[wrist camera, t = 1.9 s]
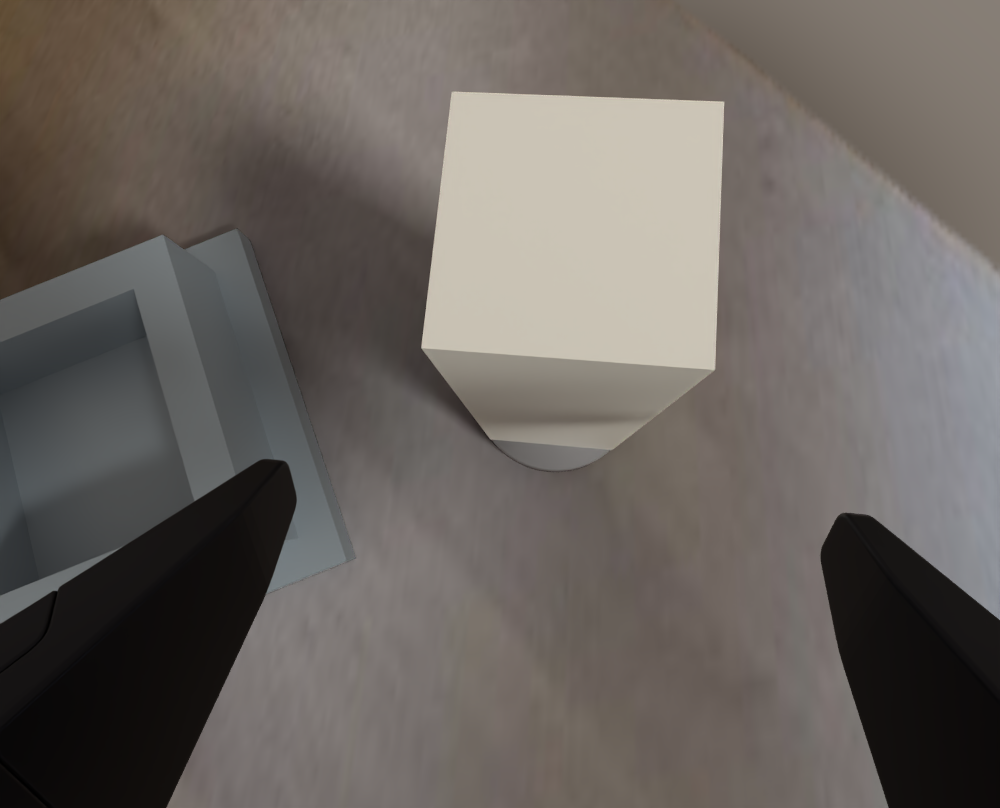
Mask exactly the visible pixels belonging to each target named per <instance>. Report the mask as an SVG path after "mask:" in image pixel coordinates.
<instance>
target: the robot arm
mask: <svg viewBox="0 0 1000 808" xmlns="http://www.w3.org/2000/svg"><path fill="white" fill-rule="evenodd" d="M296 504H297V495H296V491H295V487H294V483H293V479H292V475H291V471H290V468H289V465H288V464H287V462H286V461H283V460H275V459H261V460H259V461H257V462H256V463H254V464H252V465H251V466H249V467H248V468H246V469H245V470H243V471H241V472H240V473H238V474H237V475H235V476H233V477H232V478H230V479H229V480H227V481H226V482H224V483H222V484H221V485H219V486H218V487H216V488H215V489H213V490H211V491H210V492H208V493H207V494H205V495H204V496H202V497H200V498H199V499H197V500H196V501H194V502H192V503H191V504H189V505H188V506H186V507H185V508H183V509H181V510H180V511H178V512H177V513H175V514H174V515H172V516H170V517H169V518H167V519H166V520H164V521H163V522H161V523H159V524H158V525H156V526H155V527H153V528H151V529H150V530H148V531H147V532H145V533H144V534H142V535H140V536H139V537H137V538H136V539H134V540H133V541H131V542H129V543H128V544H126V545H125V546H123V547H121V548H120V549H118V550H117V551H115V552H114V553H112V554H110V555H109V556H107V557H106V558H104V559H103V560H101V561H99V562H98V563H96V564H95V565H93V566H92V567H90V568H88V569H87V570H85V571H84V572H82V573H80V574H79V575H77V576H76V577H74V578H73V579H71V580H69V581H68V582H66V583H65V584H63V585H62V586H60V587H59V588H58V591H52V592H50V593H49V594H47V595H45V596H44V597H42V598H41V599H39V600H38V601H36V602H34V603H33V604H31V605H30V606H28V607H27V608H25V609H23V610H22V611H20V612H18V613H17V614H15V615H13V616H12V617H10V618H9V619H7V620H5V621H4V622H2V623H0V808H166V807H167V805H168V803H169V801H170V799H171V797H172V794H173V792H174V790H175V788H176V786H177V784H178V782H179V779H180V777H181V775H182V773H183V771H184V769H185V767H186V764H187V762H188V760H189V758H190V756H191V754H192V752H193V749H194V747H195V745H196V743H197V741H198V739H199V737H200V734H201V732H202V730H203V728H204V726H205V724H206V722H207V719H208V717H209V715H210V713H211V711H212V709H213V707H214V705H215V702H216V700H217V698H218V696H219V694H220V692H221V690H222V687H223V685H224V683H225V681H226V679H227V677H228V675H229V672H230V670H231V668H232V666H233V664H234V662H235V660H236V657H237V655H238V653H239V651H240V649H241V647H242V645H243V642H244V640H245V638H246V636H247V634H248V632H249V630H250V627H251V625H252V623H253V621H254V619H255V617H256V615H257V612H258V610H259V608H260V606H261V604H262V602H263V599H264V597H265V595H266V593H267V590H268V588H269V585H270V583H271V580H272V577H273V574H274V571H275V568H276V565H277V562H278V559H279V556H280V554H281V551H282V548H283V545H284V542H285V539H286V536H287V533H288V530H289V527H290V524H291V521H292V518H293V515H294V512H295V509H296ZM821 565H822V570H823V575H824V580H825V585H826V590H827V595H828V600H829V605H830V610H831V615H832V620H833V625H834V630H835V635H836V640H837V644H838V649H839V653H840V656H841V660H842V663H843V666H844V670H845V673H846V676H847V679H848V682H849V685H850V688H851V691H852V695H853V698H854V701H855V704H856V707H857V710H858V713H859V716H860V720H861V723H862V726H863V729H864V732H865V735H866V738H867V741H868V744H869V748H870V751H871V754H872V757H873V760H874V763H875V766H876V769H877V773H878V776H879V779H880V782H881V785H882V788H883V791H884V794H885V798H886V801H887V804H888V807H889V808H1000V620H999V619H998V618H997V617H995V616H994V615H993V614H992V613H990V612H989V611H988V610H987V609H985V608H984V607H983V606H982V605H981V604H979V603H978V602H977V601H976V600H974V599H973V598H972V597H971V596H969V595H968V594H967V593H966V592H965V591H963V590H962V589H961V588H960V587H958V586H957V585H956V584H955V583H953V582H952V581H951V580H950V579H948V578H947V577H946V576H945V575H944V574H942V573H941V572H940V571H939V570H937V569H936V568H935V567H934V566H932V565H931V564H930V563H929V562H928V561H926V560H925V559H924V558H923V557H921V556H920V555H919V554H918V553H916V552H915V551H914V550H913V549H912V548H910V547H909V546H908V545H907V544H905V543H904V542H903V541H902V540H900V539H899V538H898V537H897V536H896V535H894V534H893V533H892V532H891V531H889V530H888V529H887V528H886V527H884V526H883V525H882V524H881V523H879V522H878V521H877V520H876V519H874V518H873V517H871V516H869V515H865V514H855V513H842V514H840V515H839V516H838V517H837V518H836V520H835V522H834V524H833V526H832V528H831V530H830V532H829V534H828V536H827V538H826V540H825V542H824V544H823V546H822V549H821Z"/></svg>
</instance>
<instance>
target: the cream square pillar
mask: <svg viewBox="0 0 1000 808" xmlns="http://www.w3.org/2000/svg"><path fill="white" fill-rule="evenodd" d="M723 119H724V102H716V101H689V100H662V99H635V98H608V97H581V96H554V95H527V94H500V93H473V92H452V96H451V104H450V113H449V121H448V129H447V138H446V146H445V154H444V163H443V171H442V179H441V188H440V196H439V204H438V213H437V221H436V229H435V238H434V246H433V254H432V263H431V271H430V279H429V288H428V296H427V304H426V313H425V321H424V329H423V337H422V346H421V349H422V350H423V351H424V352H425V354H426V355H427V356H428V358H429V359H430V360H431V362H432V363H433V364H434V366H435V367H436V368H437V370H438V371H439V372H440V374H441V375H442V376H443V378H444V379H445V380H446V382H447V383H448V384H449V385H450V387H451V388H452V389H453V391H454V392H455V393H456V395H457V396H458V397H459V399H460V400H461V401H462V403H463V404H464V405H465V407H466V408H467V409H468V411H469V412H470V413H471V415H472V416H473V417H474V419H475V420H476V421H477V422H478V424H479V425H480V426H481V428H482V429H483V430H484V432H485V433H486V434H487V436H488V437H489V438H490V439H491V440H492V441H493V442H494V444H495V445H496V446H497V447H498V448H499V449H500V450H501V451H502V452H503V453H504V454H506V455H507V456H508V457H509V458H511V459H513V460H514V461H516V462H517V463H519V464H522V465H524V466H526V467H529V468H532V469H535V470H539V471H546V472H564V471H571V470H575V469H579V468H582V467H584V466H587V465H589V464H591V463H593V462H595V461H597V460H598V459H600V458H601V457H602V456H604V455H605V454H606V453H608V452H609V451H610V450H613V449H614V448H615V447H617V446H618V445H619V444H621V443H622V442H623V441H624V440H626V439H627V438H628V437H630V436H631V435H632V434H633V433H635V432H636V431H637V430H639V429H640V428H641V427H642V426H644V425H645V424H646V423H648V422H649V421H650V420H651V419H653V418H654V417H655V416H657V415H658V414H659V413H660V412H662V411H663V410H664V409H666V408H667V407H668V406H669V405H671V404H672V403H673V402H674V401H676V400H677V399H678V398H680V397H681V396H682V395H683V394H685V393H686V392H687V391H689V390H690V389H691V388H692V387H694V386H695V385H696V384H698V383H699V382H700V381H701V380H703V379H704V378H705V377H707V376H708V375H709V374H710V373H712V372H713V371H714V370H715V354H716V324H717V295H718V266H719V236H720V207H721V178H722V149H723Z"/></svg>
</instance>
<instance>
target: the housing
mask: <svg viewBox="0 0 1000 808" xmlns="http://www.w3.org/2000/svg"><path fill="white" fill-rule="evenodd" d="M261 459H275V460H283V461H286V462H287V464H288V465H289V468H290V471H291V475H292V479H293V483H294V487H295V491H296V495H297V504H296V509H295V512H294V515H293V518H292V521H291V524H290V527H289V530H288V533H287V536H286V539H285V542H284V545H283V548H282V551H281V554H280V556H279V559H278V562H277V565H276V568H275V571H274V574H273V577H272V580H271V583H270V585H269V588H268V590H267V593H266V594H268V593H271V592H273V591H276V590H278V589H281V588H283V587H286V586H288V585H291V584H293V583H296V582H298V581H301V580H303V579H306V578H308V577H311V576H313V575H316V574H318V573H321V572H323V571H326V570H328V569H331V568H333V567H336V566H338V565H341V564H343V563H346V562H348V561H351V560H353V559H356V557H355V554H354V551H353V548H352V545H351V542H350V539H349V536H348V533H347V530H346V527H345V524H344V521H343V518H342V515H341V512H340V509H339V506H338V503H337V500H336V497H335V494H334V491H333V488H332V485H331V482H330V479H329V476H328V473H327V470H326V467H325V464H324V461H323V458H322V455H321V452H320V449H319V446H318V443H317V440H316V437H315V434H314V431H313V428H312V425H311V422H310V419H309V416H308V413H307V410H306V407H305V404H304V401H303V398H302V395H301V392H300V389H299V386H298V383H297V380H296V377H295V374H294V371H293V368H292V365H291V362H290V359H289V356H288V353H287V350H286V347H285V344H284V341H283V338H282V335H281V332H280V329H279V326H278V323H277V320H276V317H275V314H274V311H273V308H272V305H271V302H270V299H269V296H268V293H267V290H266V287H265V284H264V281H263V278H262V275H261V272H260V269H259V266H258V263H257V260H256V257H255V254H254V251H253V248H252V245H251V242H250V240H249V239H248V238H247V237H246V236H245V235H244V234H243V233H241V232H240V231H239V230H238V229H234V230H232V231H229V232H227V233H224V234H222V235H219V236H217V237H214V238H212V239H209V240H207V241H204V242H202V243H199V244H197V245H194V246H192V247H189V248H187V249H183V248H181V247H180V246H178V245H177V244H176V243H174V242H173V241H171V240H170V239H169V238H167V237H166V236H164V235H161V236H158V237H156V238H153V239H151V240H148V241H146V242H143V243H141V244H138V245H136V246H133V247H131V248H128V249H126V250H123V251H121V252H118V253H116V254H113V255H111V256H108V257H106V258H103V259H101V260H98V261H96V262H93V263H91V264H88V265H86V266H83V267H81V268H78V269H76V270H73V271H71V272H68V273H66V274H63V275H61V276H58V277H56V278H53V279H51V280H48V281H46V282H43V283H41V284H38V285H36V286H33V287H31V288H28V289H26V290H23V291H21V292H18V293H16V294H13V295H11V296H8V297H6V298H3V299H1V300H0V623H2V622H4V621H5V620H7V619H9V618H10V617H12V616H13V615H15V614H17V613H18V612H20V611H22V610H23V609H25V608H27V607H28V606H30V605H31V604H33V603H34V602H36V601H38V600H39V599H41V598H42V597H44V596H45V595H47V594H49V593H50V592H52V591H58V588H59V587H60V586H62V585H63V584H65V583H66V582H68V581H69V580H71V579H73V578H74V577H76V576H77V575H79V574H80V573H82V572H84V571H85V570H87V569H88V568H90V567H92V566H93V565H95V564H96V563H98V562H99V561H101V560H103V559H104V558H106V557H107V556H109V555H110V554H112V553H114V552H115V551H117V550H118V549H120V548H121V547H123V546H125V545H126V544H128V543H129V542H131V541H133V540H134V539H136V538H137V537H139V536H140V535H142V534H144V533H145V532H147V531H148V530H150V529H151V528H153V527H155V526H156V525H158V524H159V523H161V522H163V521H164V520H166V519H167V518H169V517H170V516H172V515H174V514H175V513H177V512H178V511H180V510H181V509H183V508H185V507H186V506H188V505H189V504H191V503H192V502H194V501H196V500H197V499H199V498H200V497H202V496H204V495H205V494H207V493H208V492H210V491H211V490H213V489H215V488H216V487H218V486H219V485H221V484H222V483H224V482H226V481H227V480H229V479H230V478H232V477H233V476H235V475H237V474H238V473H240V472H241V471H243V470H245V469H246V468H248V467H249V466H251V465H252V464H254V463H256V462H257V461H259V460H261Z"/></svg>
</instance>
